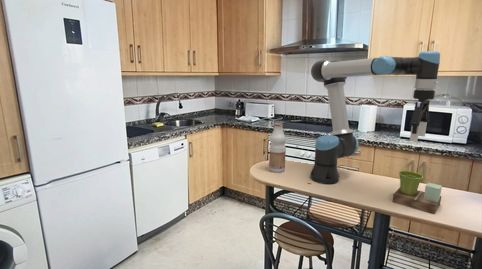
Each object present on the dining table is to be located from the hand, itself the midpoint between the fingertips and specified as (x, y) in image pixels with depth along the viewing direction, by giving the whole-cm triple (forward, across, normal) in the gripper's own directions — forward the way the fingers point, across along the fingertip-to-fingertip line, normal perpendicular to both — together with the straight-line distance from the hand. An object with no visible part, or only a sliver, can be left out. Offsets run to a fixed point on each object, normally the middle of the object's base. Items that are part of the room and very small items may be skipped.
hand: (417, 138), depth 124 cm
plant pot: (+25, -2, 0) cm, 25 cm away
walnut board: (+29, -2, -4) cm, 29 cm away
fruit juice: (+29, -11, +67) cm, 74 cm away
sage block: (+25, -2, -9) cm, 26 cm away
